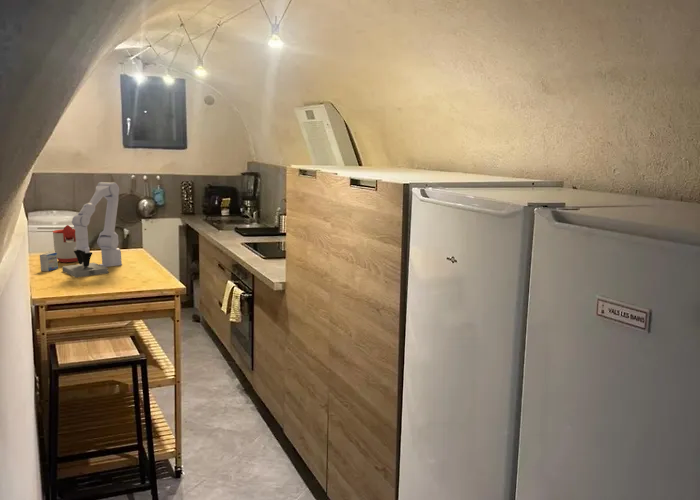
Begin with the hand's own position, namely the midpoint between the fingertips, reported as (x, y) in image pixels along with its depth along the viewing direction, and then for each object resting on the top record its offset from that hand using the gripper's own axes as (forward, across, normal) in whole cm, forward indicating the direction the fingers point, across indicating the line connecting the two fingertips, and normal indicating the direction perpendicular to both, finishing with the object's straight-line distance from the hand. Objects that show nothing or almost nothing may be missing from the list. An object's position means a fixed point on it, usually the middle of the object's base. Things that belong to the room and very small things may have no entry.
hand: (83, 265), depth 332 cm
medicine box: (+4, -16, -12) cm, 21 cm away
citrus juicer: (+4, -34, +4) cm, 35 cm away
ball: (-1, +2, 0) cm, 2 cm away
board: (+3, +2, 0) cm, 4 cm away
